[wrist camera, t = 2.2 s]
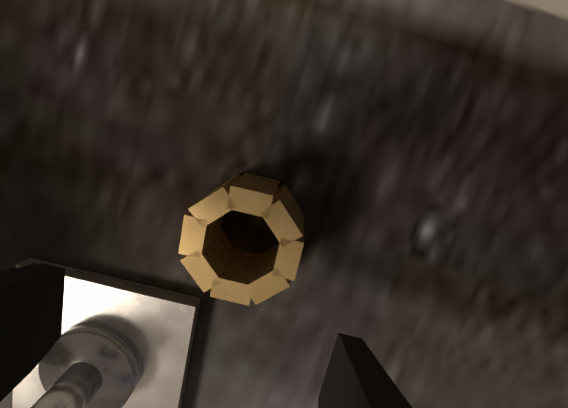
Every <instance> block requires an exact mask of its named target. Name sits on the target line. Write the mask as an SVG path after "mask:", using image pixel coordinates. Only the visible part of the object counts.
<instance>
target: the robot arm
mask: <svg viewBox="0 0 568 408" xmlns="http://www.w3.org/2000/svg"><path fill="white" fill-rule="evenodd" d="M64 283H65V268H61V267H57V266H52V265H48V264H44V263H40V264H34V265H28V266H22V267H18V268H13V269H8V270H4V271H0V401H1V400H2V399H3V398H5V397H6V396H7V395H8V394H9V393H10V392H11V391H12V390H13V389H14V388H15V387H16V386H17V385H18V384H19V383H20V382H21V381H22V380H23V379H24V378H25V377H26V376H27V375H28V374H29V373H31V371H32V370H33V369H34V368H35V367H36V366H37V365H38V363H39V362H40V361H41V360H42V359H43V358H44V357H45V355H46V354H47V353H48V352H49V350H50V349H51V348H52V347H53V346H54V344H55V343H56V342H57V341H58V339H59V338H60V337H61V331H62V315H63V299H64ZM318 408H412V407H411V405H410V404H409V403H408V401H407V400H406V399H405V397H404V396H403V395H402V393H401V392H400V391H399V389H398V388H397V387H396V385H395V384H394V382H393V381H392V380H391V378H390V377H389V376H388V374H387V373H386V371H385V370H384V369H383V367H382V366H381V364H380V363H379V362H378V360H377V359H376V357H375V356H374V355H373V353H372V352H371V350H370V349H369V348H368V346H367V345H366V343H365V342H364V341H363V340H362V338H358V337H353V336H349V335H345V334H341V333H338V336H337V339H336V342H335V345H334V349H333V352H332V355H331V359H330V362H329V365H328V368H327V372H326V375H325V378H324V381H323V385H322V388H321V391H320V394H319V402H318Z"/></svg>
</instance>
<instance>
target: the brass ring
mask: <svg viewBox="0 0 568 408" xmlns="http://www.w3.org/2000/svg"><path fill="white" fill-rule="evenodd" d="M279 182H280V181H279V180H275V179H271V178H267V177H262V176H258V175H254V174H249V173H244V174H243V175H242V176H241V175H240V174H238V175H236V176H235V177H233V178H232V179H230V180H228V181H227V182H225V183H224V184H222V185H221V186H219V187H217V188H216V189H214V190H213V191H211V192H210V193H209V194H207V195H206V196H205V197H203V198H202V199H201V200H199V201H198V202H197V203H195V204H194V205H193V206H191V207H190V208H189V212H188V213H186V214H185V215H184V221H183V227H182V233H181V240H180V246H179V253H178V254H183V255H185V256H184V257H183V258H182V259H181V260H180V261H181V262H182V264H183V265H184V266H185V268H186V269H187V270H188V272H189V273H190V274H191V276H192V277H193V279H194V280H195V281H196V283H197V284H198V285H199V287H200V288H201V289H202V291H203V292H206V291H207V290H209V289H211V293H210V297H214V298H218V299H223V300H227V301H231V302H235V303H239V304H244V305H248V306H249V304H250V301H251V298H252V300H253V301H254V303H255V304H256V305H257V304H258V303H260V302H262V301H264V300H266V299H268V298H270V297H271V296H273V295H275V294H277V293H279V292H281V291H282V290H284V289H286V288H288V287H290V282H291V280H293V281H294V280H295V277H296V273H297V269H298V265H299V261H300V257H301V253H302V249H303V245H304V220H305V219H303V214H304V213H303V212H302V210H301V209H300V207H299V205H298V204H297V202H296V201H295V199H294V198H293V196H292V194H291V193H290V191H289V190H288V188H287V187H286V185H283V186H281V187H280V188H278V186H279ZM231 210H234V211H239V212H243V213H247V214H252V215H256V216H260V217H263V218H264V220H265V221H266V223H267V224H268V226H269V227H270V229H271V230H272V232H273V233H274V235H275V236H276V238H277V239H278V241H279V243H277V244H276V245H274V246H272V247H270V248H269V249H267V250H265V251H263V252H262V253H260V254H256V253H252V252H248V251H243V250H239V249H235V248H234V246H233V245H232V244H231V242H230V241H229V239H228V238H227V236H226V235H225V233H224V232H223V231H222V229H221V227H222V221H223V216H224V214H226V213H228V212H229V211H231Z"/></svg>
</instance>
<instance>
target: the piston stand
mask: <svg viewBox="0 0 568 408" xmlns="http://www.w3.org/2000/svg"><path fill="white" fill-rule="evenodd" d="M40 263H44V264H48V265H52V266H57V267H61V268H65V283H64V299H63V315H62V331H61V337H60V338H59V339H58V341H57V342H56V343H55V344H54V346H53V347H52V348H51V349H50V350H49V352H48V353H47V354H46V355H45V357H44V358H43V359H42V360H41V361H40V362H39V363H38V365H37V366H36V367H35V368H34V369H33V370H32V371H31V373H29V374H28V375H27V376H26V377H25V378H24V379H23V380H22V381H21V382H20V383H19V384H18V385H17V386H16V387H15V388H14V389H13V408H181V407H182V401H183V396H184V390H185V384H186V379H187V373H188V368H189V362H190V357H191V351H192V346H193V340H194V334H195V329H196V323H197V318H198V312H199V307H200V301H201V298H200V297H196V296H192V295H187V294H183V293H179V292H175V291H170V290H166V289H162V288H158V287H153V286H149V285H145V284H141V283H137V282H132V281H128V280H124V279H120V278H115V277H111V276H107V275H103V274H98V273H94V272H90V271H86V270H81V269H77V268H73V267H69V266H65V265H60V264H56V263H52V262H48V261H43V260H39V259H35V258H31V257H30V258H28V259H26V260H24V261H22V262H20V263H18V264H16V268H18V267H22V266H28V265H34V264H40Z"/></svg>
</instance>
